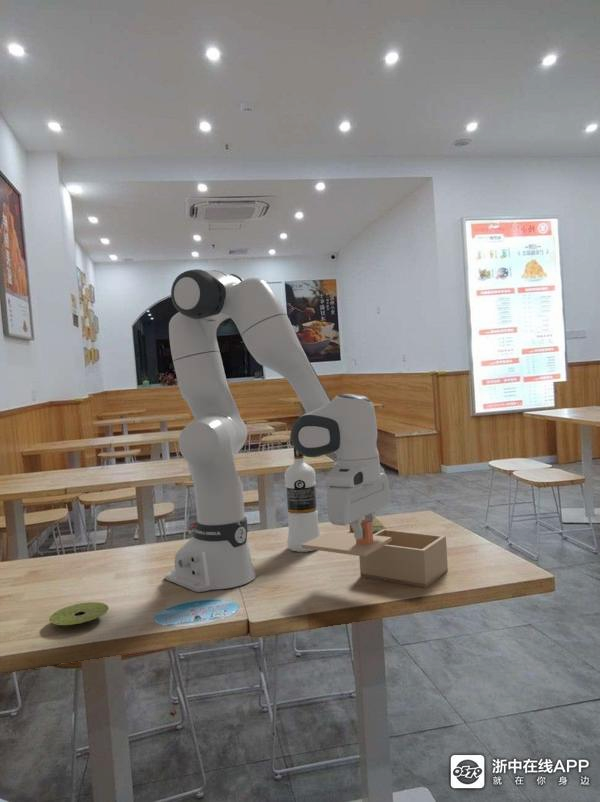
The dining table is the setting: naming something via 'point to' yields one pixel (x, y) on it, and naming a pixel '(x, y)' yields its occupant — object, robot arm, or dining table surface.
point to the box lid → (348, 542)
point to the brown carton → (407, 558)
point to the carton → (376, 526)
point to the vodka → (301, 504)
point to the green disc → (78, 613)
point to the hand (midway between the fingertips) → (363, 536)
